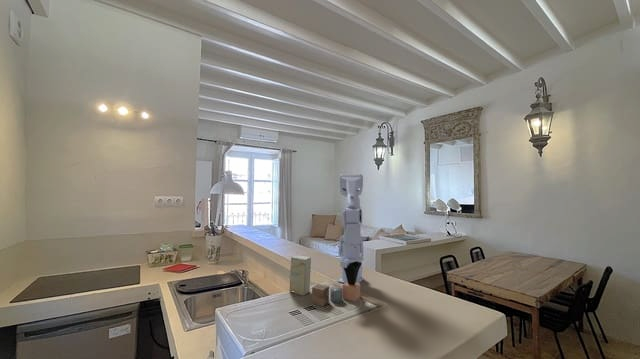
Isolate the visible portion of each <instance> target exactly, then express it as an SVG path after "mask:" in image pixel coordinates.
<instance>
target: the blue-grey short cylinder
mask: <svg viewBox="0 0 640 359" xmlns="http://www.w3.org/2000/svg"><path fill="white" fill-rule="evenodd" d="M329 302H332V303H335V304H337V303H342V302H343V287H338V286H333V287H330V288H329Z"/></svg>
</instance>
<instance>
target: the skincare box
mask: <svg viewBox="0 0 640 359" xmlns="http://www.w3.org/2000/svg"><path fill="white" fill-rule="evenodd" d="M311 269H312V256H306V255H299V254H296V255H293V256H290V272H289V273H290V274H289V278H290V279H289V289H288V290H289V293H292V291H294V294H297V295H300V296H305V295H306V294H308V293H310V290H311Z"/></svg>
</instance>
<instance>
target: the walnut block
mask: <svg viewBox="0 0 640 359" xmlns="http://www.w3.org/2000/svg"><path fill="white" fill-rule="evenodd" d="M329 302H330V285H325V284H321V283H317V284H316V285H314V286H312V287H311V305H315V306H319V307H325V306H326V304H328V303H329Z"/></svg>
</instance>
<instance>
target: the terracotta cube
mask: <svg viewBox="0 0 640 359" xmlns="http://www.w3.org/2000/svg"><path fill="white" fill-rule="evenodd" d="M342 289H343V298H342V300H347V301H351V302H356V301H357V300H358V299H360V298H361V282H360V283H355V285H349V284H348V281H347V282H346V283H343V284H342Z"/></svg>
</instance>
